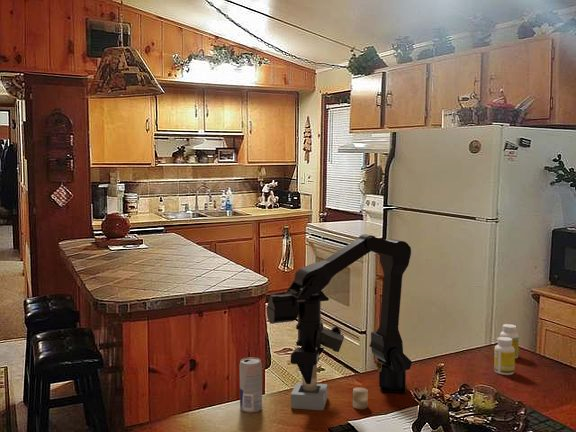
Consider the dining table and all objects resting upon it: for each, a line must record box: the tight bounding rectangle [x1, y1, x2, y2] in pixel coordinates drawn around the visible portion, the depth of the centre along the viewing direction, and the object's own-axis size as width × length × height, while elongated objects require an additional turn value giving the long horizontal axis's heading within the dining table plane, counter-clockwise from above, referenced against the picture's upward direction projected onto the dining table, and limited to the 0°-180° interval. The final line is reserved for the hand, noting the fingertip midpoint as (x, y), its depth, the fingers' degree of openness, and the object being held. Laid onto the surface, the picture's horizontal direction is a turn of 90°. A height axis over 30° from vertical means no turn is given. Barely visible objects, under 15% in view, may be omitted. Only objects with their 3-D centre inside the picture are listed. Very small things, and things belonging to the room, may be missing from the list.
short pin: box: [352, 387, 369, 410], centre depth 139 cm, size 4×4×4 cm
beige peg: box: [301, 363, 318, 391], centre depth 141 cm, size 4×4×6 cm
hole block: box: [290, 382, 328, 411], centre depth 141 cm, size 8×8×4 cm
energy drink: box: [238, 356, 263, 414], centre depth 138 cm, size 5×5×12 cm
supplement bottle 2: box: [493, 336, 516, 376], centre depth 162 cm, size 5×5×10 cm
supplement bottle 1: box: [499, 323, 520, 359], centre depth 176 cm, size 5×5×10 cm
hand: (309, 380), depth 141 cm, fingers closed on beige peg, 4 cm apart
